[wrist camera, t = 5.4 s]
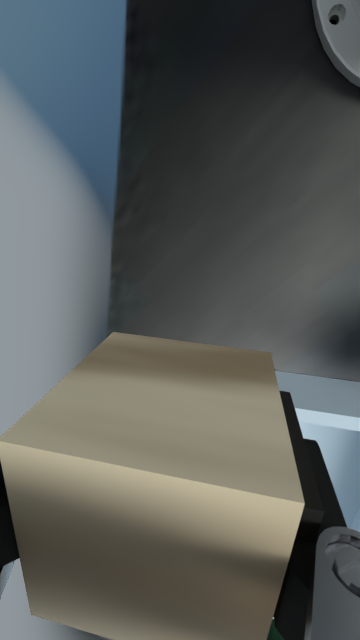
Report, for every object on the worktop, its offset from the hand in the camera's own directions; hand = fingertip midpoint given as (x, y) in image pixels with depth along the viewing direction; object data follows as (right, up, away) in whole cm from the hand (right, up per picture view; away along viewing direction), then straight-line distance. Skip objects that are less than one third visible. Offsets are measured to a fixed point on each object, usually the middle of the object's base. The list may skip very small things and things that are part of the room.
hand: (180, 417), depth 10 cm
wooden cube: (0, 0, 0) cm, 1 cm away
